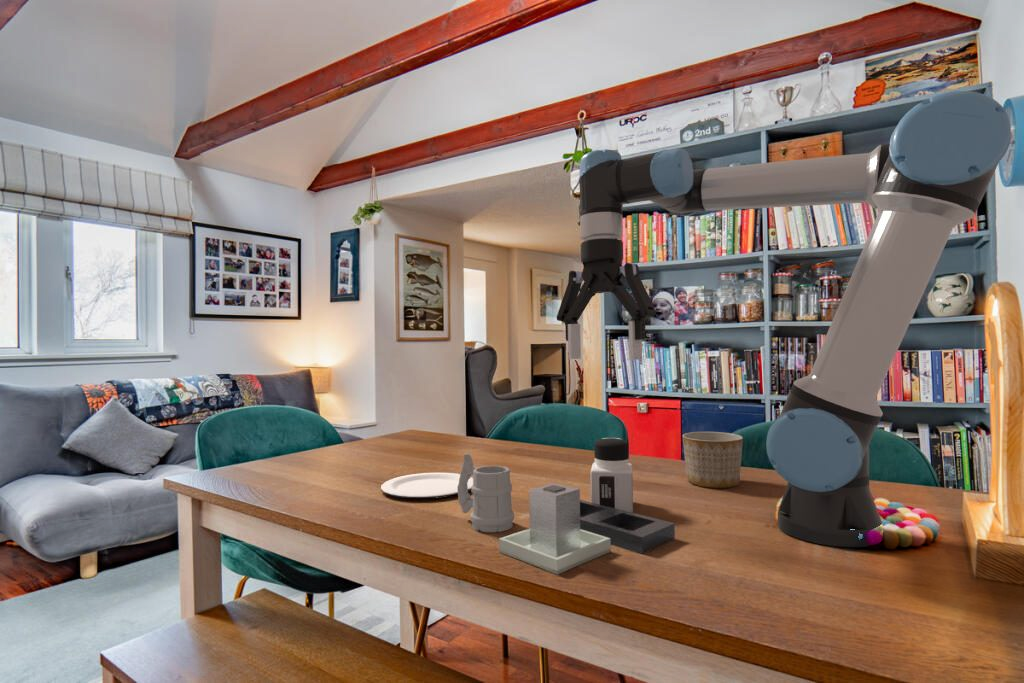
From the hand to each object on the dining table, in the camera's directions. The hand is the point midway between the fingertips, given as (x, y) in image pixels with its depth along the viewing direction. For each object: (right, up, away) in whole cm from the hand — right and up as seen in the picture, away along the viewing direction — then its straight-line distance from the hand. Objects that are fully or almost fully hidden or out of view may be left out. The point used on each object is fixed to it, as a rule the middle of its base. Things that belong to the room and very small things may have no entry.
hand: (603, 359), depth 101 cm
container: (+3, -29, +8) cm, 30 cm away
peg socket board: (-2, -29, -5) cm, 29 cm away
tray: (-10, -29, -15) cm, 34 cm away
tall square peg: (-10, -28, -15) cm, 34 cm away
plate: (-35, -30, +23) cm, 51 cm away
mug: (-21, -29, -1) cm, 36 cm away
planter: (+28, -29, +25) cm, 47 cm away
